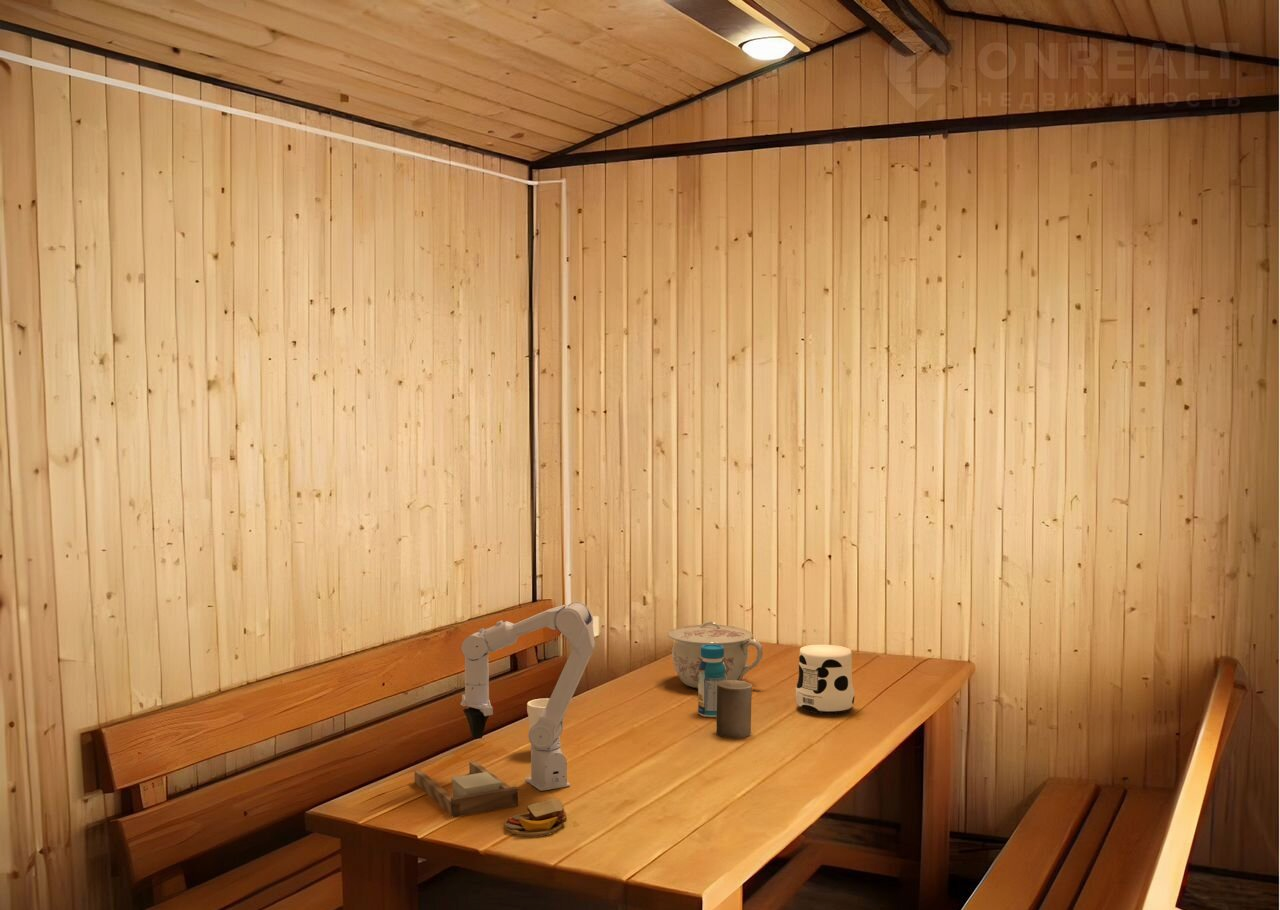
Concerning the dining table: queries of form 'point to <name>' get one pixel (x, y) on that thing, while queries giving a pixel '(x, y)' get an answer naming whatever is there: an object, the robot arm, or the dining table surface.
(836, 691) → the milk container
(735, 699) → the pillar candle
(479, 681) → the robot arm
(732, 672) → the chamber pot
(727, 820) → the dining table surface
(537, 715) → the foam cup
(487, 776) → the beige square block
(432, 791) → the bay
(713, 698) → the beverage bottle
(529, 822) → the toy sandwich meal
